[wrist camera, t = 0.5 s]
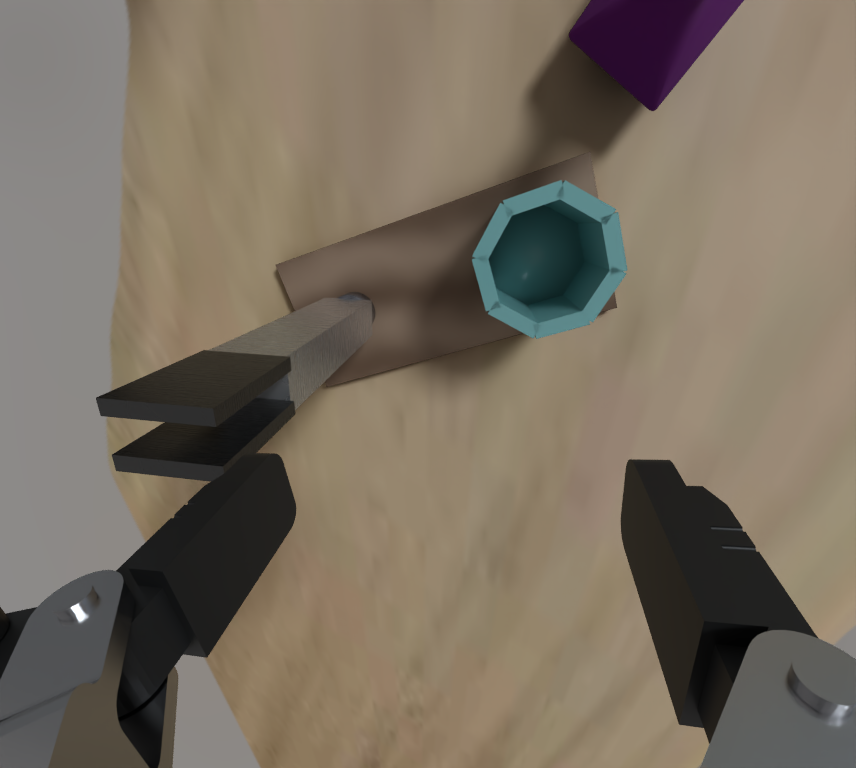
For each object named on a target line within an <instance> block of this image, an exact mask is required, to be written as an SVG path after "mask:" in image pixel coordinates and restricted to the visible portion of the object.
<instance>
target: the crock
mask: <svg viewBox="0 0 856 768" xmlns="http://www.w3.org/2000/svg"><path fill="white" fill-rule="evenodd" d="M615 210H616V209H615V208H613V207H611V206H609V205H608V204H606V203H604V202H602V201H601V200H599V199H597V198H595V197H594V196H592V195H590V194H588V193H587V192H585V191H583V190H581V189H580V188H578V187H576V186H574V185H573V184H571V183H569V182H567V181H566V180H565V181H563V182H562V180H560V181H557V182H554V183H551V184H548V185H546V186H543V187H540V188H537V189H534V190H531V191H528V192H526V193H523V194H520V195H517V196H514V197H511V198H508V199H506V200H503V201H502V203H500V204H499V205H498V207H497V209H496V210H495V212H494V214H493V216H492V218H491V220H490V222H489V224H488V226H487V227H486V229H485V231H484V233H483V235H482V237H481V239H480V241H479V243H478V244H477V246H476V248H475V250H474V253H473V255H472V256H473V257H472V262H473V266H474V270H475V273H476V277H477V280H478V284H479V288H480V291H481V295H482V299H483V302H484V306H485V310H486V311H488V314H489V315H491V316H493V317H495V318H497V319H498V320H500V321H502V322H504V323H506V324H508V325H509V326H511V327H513V328H515V329H517V330H519V331H521V332H522V333H524V334H526V335H528V336H530V337H532V338H534V337H536V339H537V338H541V337H545V336H549V335H552V334H556V333H560V332H563V331H567V330H571V329H575V328H578V327H582V326H586V325H590V322H589V321H591V322H593V321H594V320H595V318H596V317H597V316H598V314H599V313H600V311H601V310H602V308H603V307H604V305H605V304H606V303H607V301H608V300H609V298H610V297H611V295H612V294H613V292H614V291H615V290H616V288H617V287H618V285H619V284H620V282H621V281H622V279H623V278H624V277H625V275H626V273H624V272H623V271H626V270H627V265H626V259H625V252H624V246H623V240H622V234H621V227H620V221H619V215H618V212H615ZM614 212H615V213H614Z"/></svg>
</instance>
